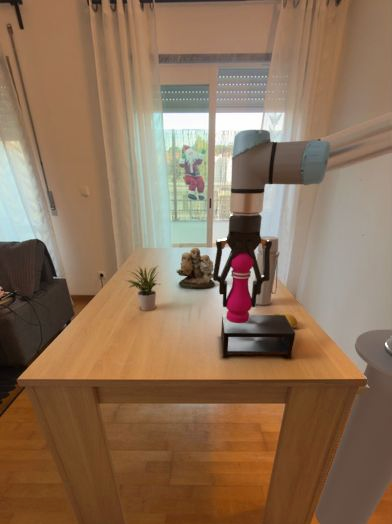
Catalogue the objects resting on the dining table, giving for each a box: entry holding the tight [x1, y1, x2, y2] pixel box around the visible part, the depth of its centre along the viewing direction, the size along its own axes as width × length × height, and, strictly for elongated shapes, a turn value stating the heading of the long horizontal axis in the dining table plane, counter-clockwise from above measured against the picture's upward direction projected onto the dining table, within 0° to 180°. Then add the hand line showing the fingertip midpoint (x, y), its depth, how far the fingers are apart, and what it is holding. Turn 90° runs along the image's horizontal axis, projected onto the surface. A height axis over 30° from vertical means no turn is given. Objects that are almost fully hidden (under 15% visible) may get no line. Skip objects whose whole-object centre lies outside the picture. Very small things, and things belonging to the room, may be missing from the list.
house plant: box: [124, 265, 162, 311], centre depth 108 cm, size 14×14×16 cm
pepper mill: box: [225, 253, 253, 323], centre depth 75 cm, size 7×7×20 cm
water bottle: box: [254, 235, 281, 306], centre depth 108 cm, size 9×8×25 cm
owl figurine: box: [176, 247, 216, 290], centre depth 130 cm, size 18×12×17 cm, turn 95°
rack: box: [220, 314, 296, 360], centre depth 83 cm, size 19×12×8 cm, turn 88°
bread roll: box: [274, 313, 298, 329], centre depth 97 cm, size 8×9×4 cm
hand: (238, 305), depth 78 cm, fingers closed on pepper mill, 7 cm apart
